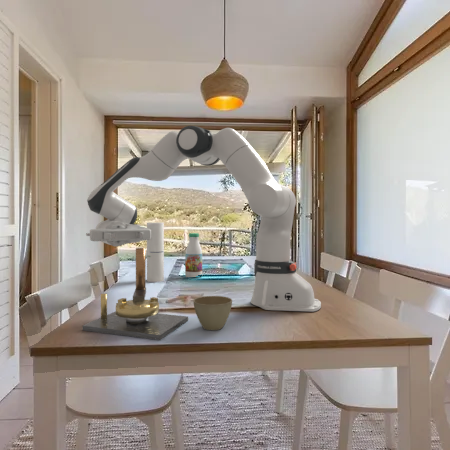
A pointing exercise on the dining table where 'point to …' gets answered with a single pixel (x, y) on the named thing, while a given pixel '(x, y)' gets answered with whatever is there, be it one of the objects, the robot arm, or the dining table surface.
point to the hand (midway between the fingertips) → (127, 236)
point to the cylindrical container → (155, 252)
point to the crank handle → (138, 294)
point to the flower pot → (212, 311)
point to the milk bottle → (193, 256)
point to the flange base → (135, 324)
